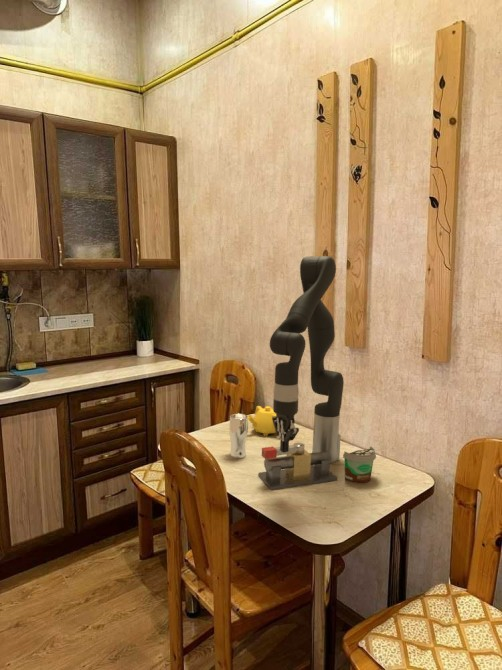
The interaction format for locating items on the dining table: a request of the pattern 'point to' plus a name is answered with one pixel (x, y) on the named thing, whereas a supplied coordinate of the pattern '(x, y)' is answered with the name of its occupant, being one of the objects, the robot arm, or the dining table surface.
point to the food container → (359, 465)
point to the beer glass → (238, 434)
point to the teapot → (263, 420)
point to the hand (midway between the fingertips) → (284, 451)
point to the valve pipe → (297, 470)
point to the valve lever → (274, 452)
